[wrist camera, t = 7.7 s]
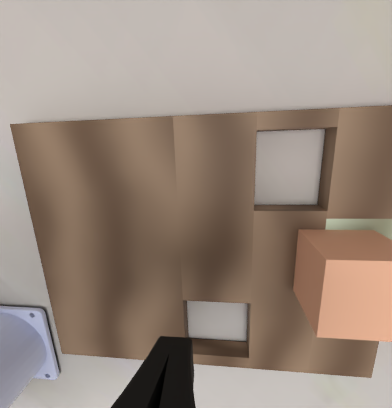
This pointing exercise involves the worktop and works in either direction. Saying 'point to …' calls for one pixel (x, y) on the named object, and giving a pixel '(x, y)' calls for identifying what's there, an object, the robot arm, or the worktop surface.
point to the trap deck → (195, 230)
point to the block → (345, 283)
